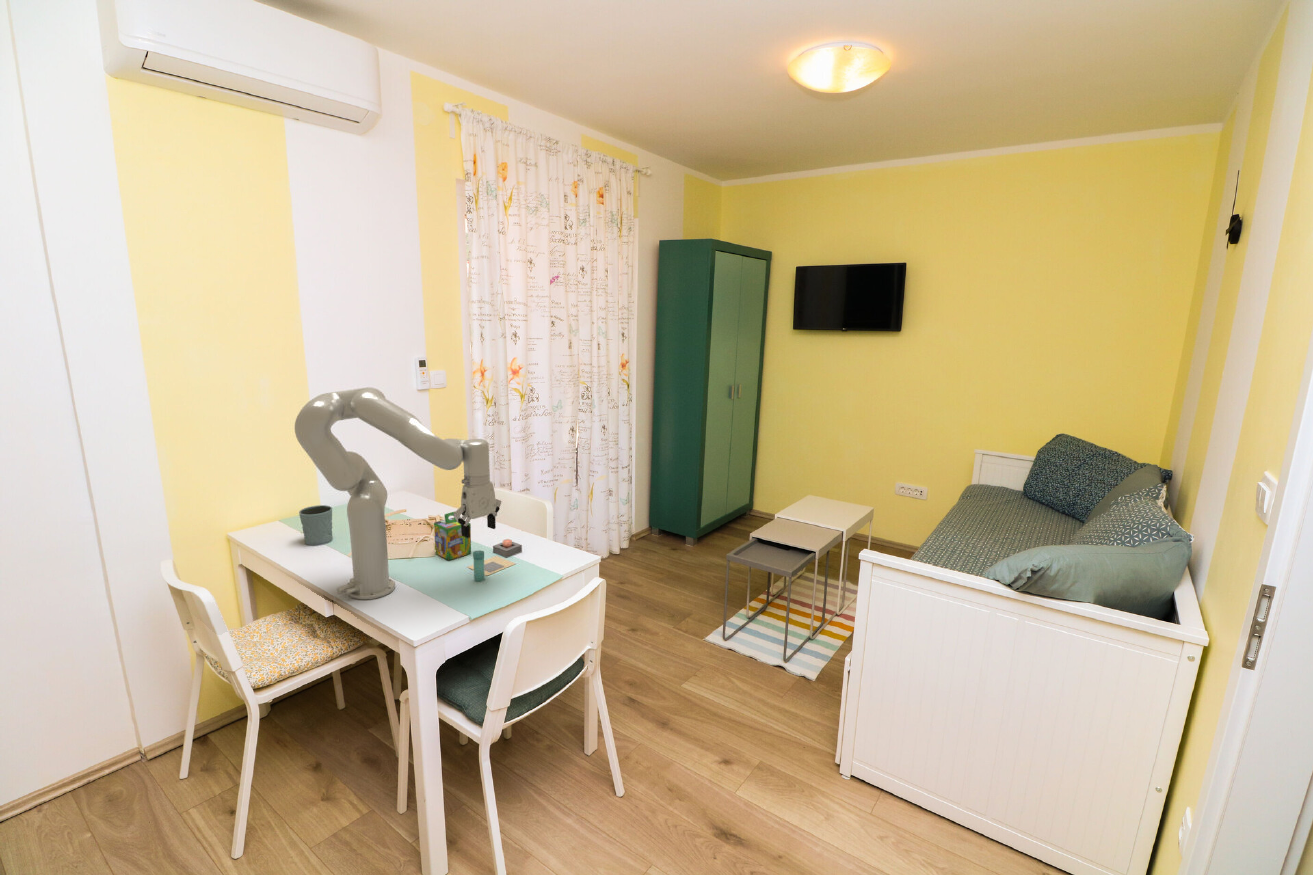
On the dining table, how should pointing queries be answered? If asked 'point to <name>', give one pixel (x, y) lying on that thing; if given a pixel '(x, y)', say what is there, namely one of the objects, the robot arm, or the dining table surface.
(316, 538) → the teal grey cup
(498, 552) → the button collar
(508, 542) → the button
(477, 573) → the teal cylinder
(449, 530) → the chalk box
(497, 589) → the dining table surface
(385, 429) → the robot arm
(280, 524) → the dining table surface
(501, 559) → the sheet
